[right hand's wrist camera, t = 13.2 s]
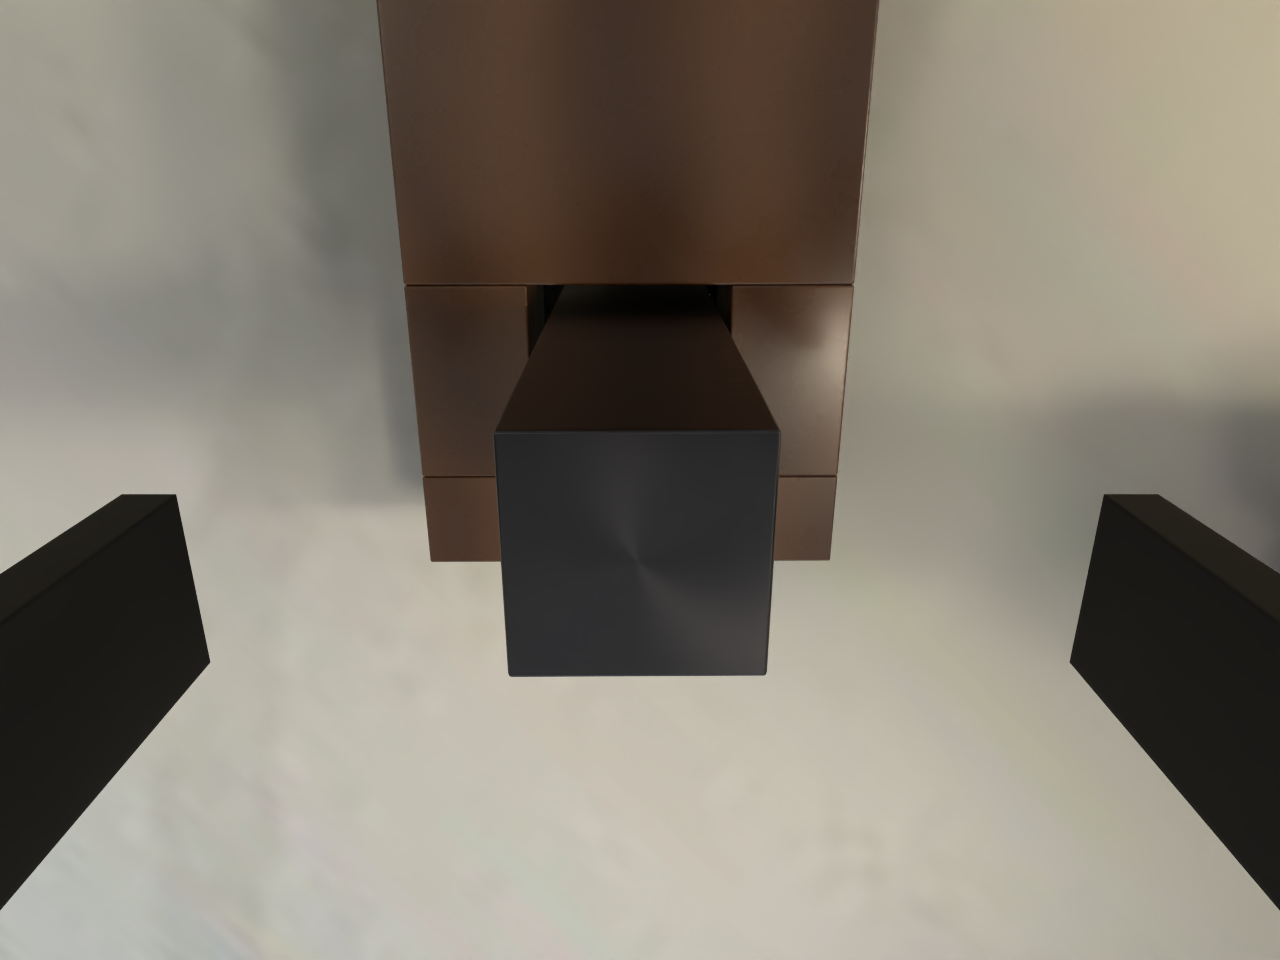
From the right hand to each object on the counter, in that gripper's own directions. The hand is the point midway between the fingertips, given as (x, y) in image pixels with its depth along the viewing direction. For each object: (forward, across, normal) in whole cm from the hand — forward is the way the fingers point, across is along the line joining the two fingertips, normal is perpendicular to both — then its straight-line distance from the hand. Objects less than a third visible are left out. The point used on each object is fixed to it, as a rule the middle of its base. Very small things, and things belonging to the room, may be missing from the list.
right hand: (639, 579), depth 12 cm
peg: (+14, 0, 0) cm, 14 cm away
